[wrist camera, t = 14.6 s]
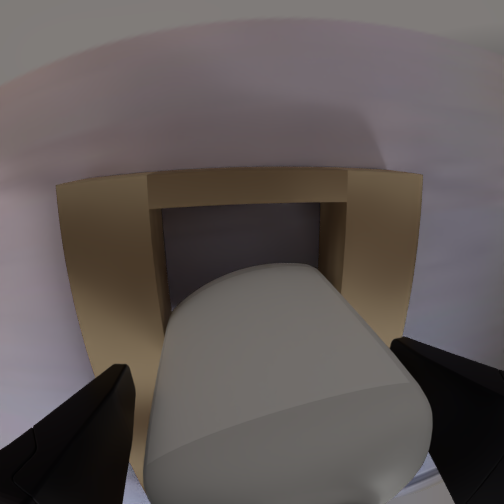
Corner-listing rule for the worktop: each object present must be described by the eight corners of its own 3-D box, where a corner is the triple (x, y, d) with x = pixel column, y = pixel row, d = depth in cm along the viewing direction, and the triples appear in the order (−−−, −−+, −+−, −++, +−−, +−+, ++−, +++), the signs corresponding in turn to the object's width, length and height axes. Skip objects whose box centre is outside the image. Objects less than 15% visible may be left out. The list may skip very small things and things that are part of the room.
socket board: (335, 475, 18) (346, 501, 16) (163, 494, 16) (162, 522, 14) (387, 169, 12) (422, 174, 10) (84, 178, 11) (55, 185, 8)
